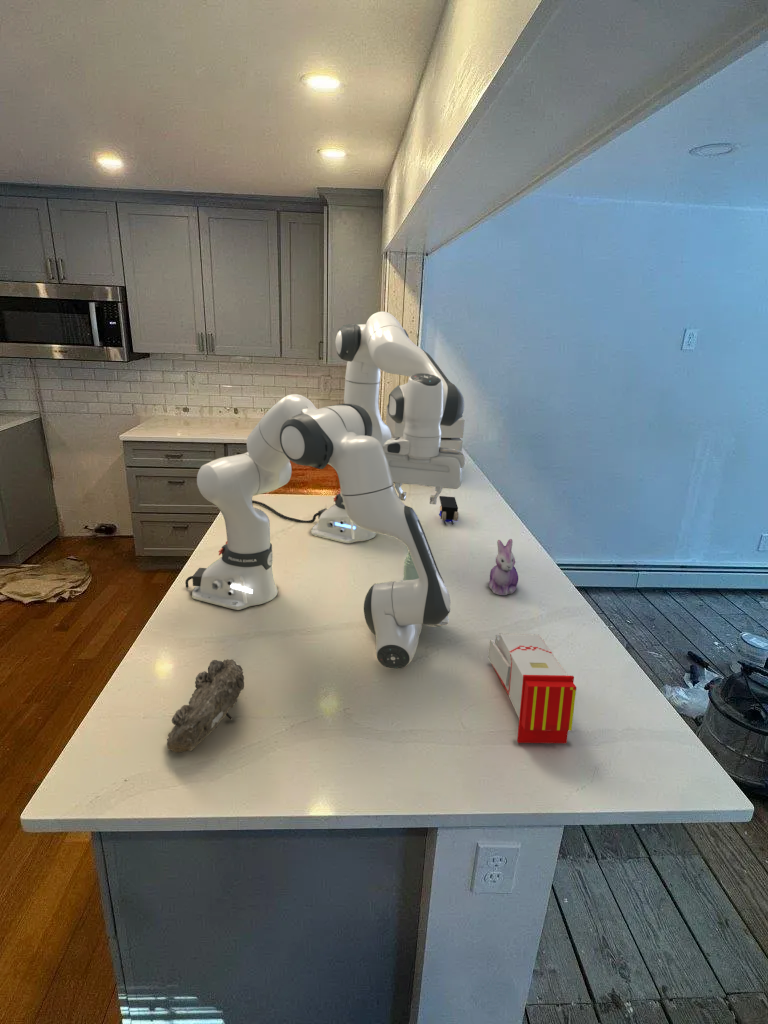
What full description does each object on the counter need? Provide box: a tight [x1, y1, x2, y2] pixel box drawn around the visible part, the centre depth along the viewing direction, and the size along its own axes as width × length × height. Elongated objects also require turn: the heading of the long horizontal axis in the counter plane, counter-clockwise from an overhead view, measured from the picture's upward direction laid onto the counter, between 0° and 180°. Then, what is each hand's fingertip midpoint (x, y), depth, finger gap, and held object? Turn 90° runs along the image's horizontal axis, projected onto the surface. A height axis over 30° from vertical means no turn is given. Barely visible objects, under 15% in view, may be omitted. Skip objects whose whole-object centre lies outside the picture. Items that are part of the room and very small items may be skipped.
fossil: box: [166, 658, 245, 754], centre depth 106 cm, size 22×10×15 cm
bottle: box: [402, 551, 419, 581], centre depth 144 cm, size 5×5×20 cm
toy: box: [487, 632, 577, 744], centre depth 116 cm, size 12×13×30 cm
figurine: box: [488, 538, 519, 596], centre depth 161 cm, size 9×10×15 cm
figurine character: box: [438, 495, 459, 526], centre depth 214 cm, size 7×8×15 cm
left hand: (411, 593), depth 147 cm, fingers closed on bottle, 5 cm apart
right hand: (417, 501), depth 137 cm, fingers open, 6 cm apart
